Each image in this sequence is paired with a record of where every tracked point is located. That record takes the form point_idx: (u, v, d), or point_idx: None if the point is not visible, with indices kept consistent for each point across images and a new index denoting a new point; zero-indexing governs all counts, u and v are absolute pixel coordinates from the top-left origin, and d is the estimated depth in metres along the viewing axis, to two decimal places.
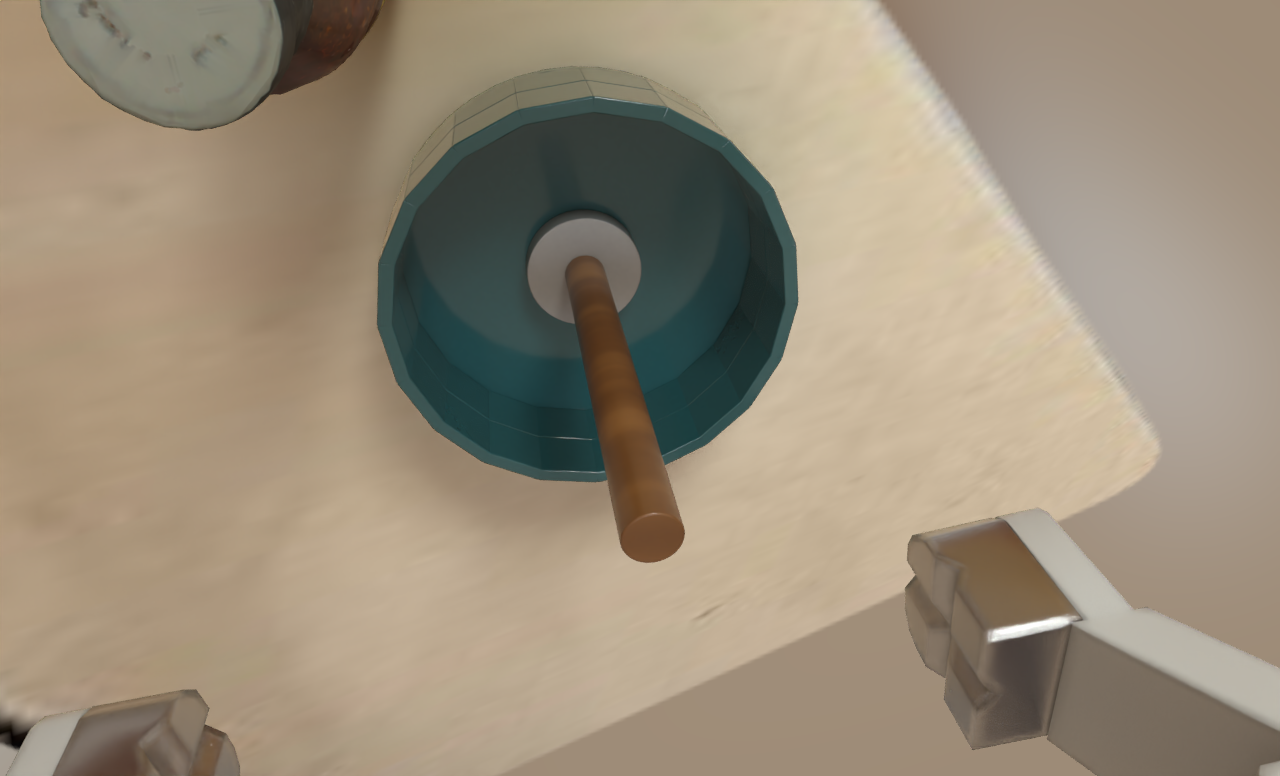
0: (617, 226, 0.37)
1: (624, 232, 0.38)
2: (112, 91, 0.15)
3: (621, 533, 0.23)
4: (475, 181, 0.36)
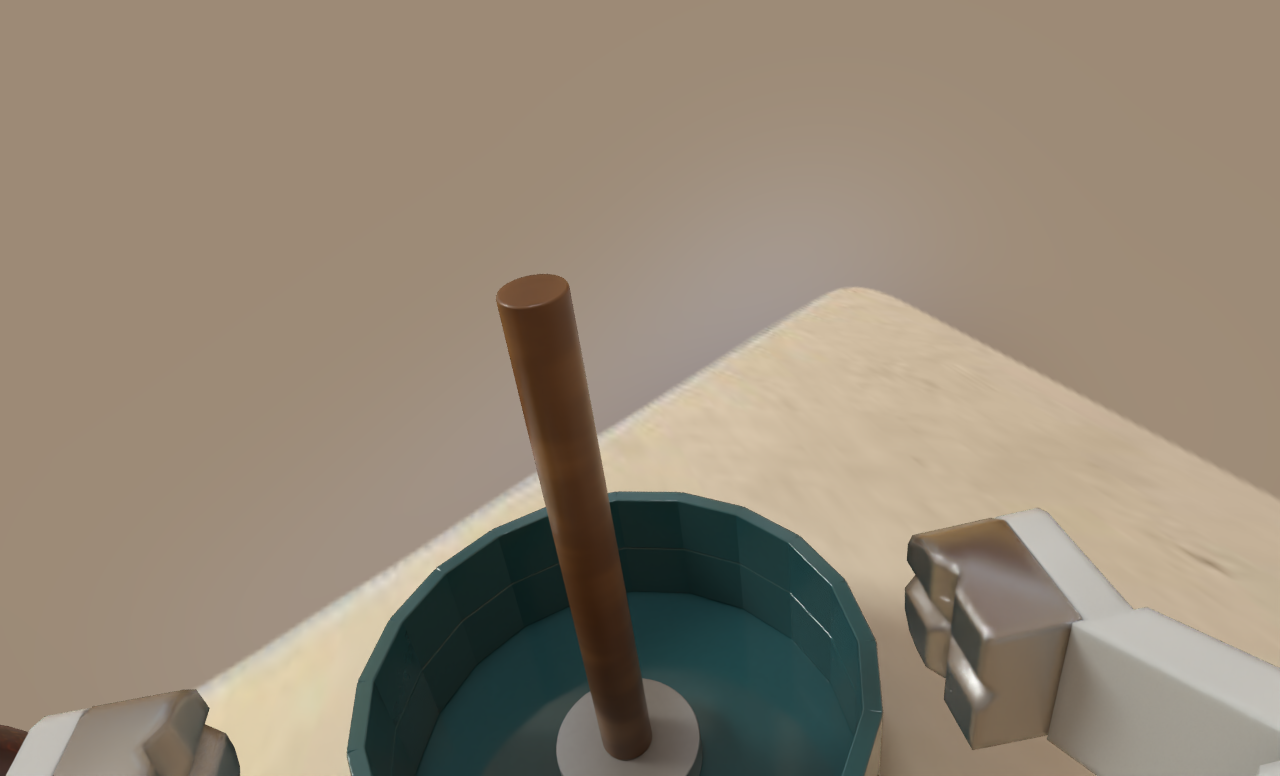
0: None
1: (580, 700, 0.32)
2: None
3: (519, 310, 0.20)
4: None
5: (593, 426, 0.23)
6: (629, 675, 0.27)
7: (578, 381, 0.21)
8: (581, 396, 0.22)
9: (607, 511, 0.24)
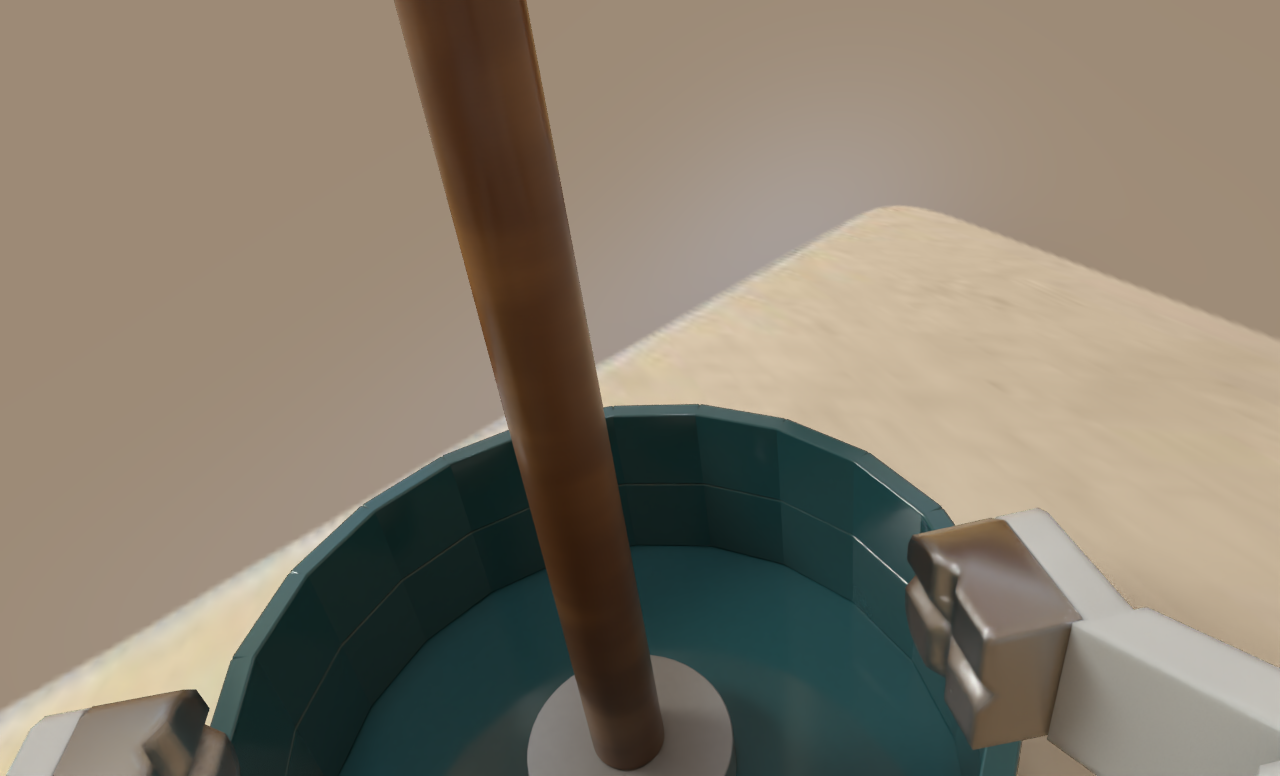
0: None
1: (562, 685, 0.23)
2: None
3: None
4: None
5: (563, 213, 0.13)
6: (630, 642, 0.18)
7: (533, 116, 0.12)
8: (539, 146, 0.13)
9: (590, 372, 0.15)
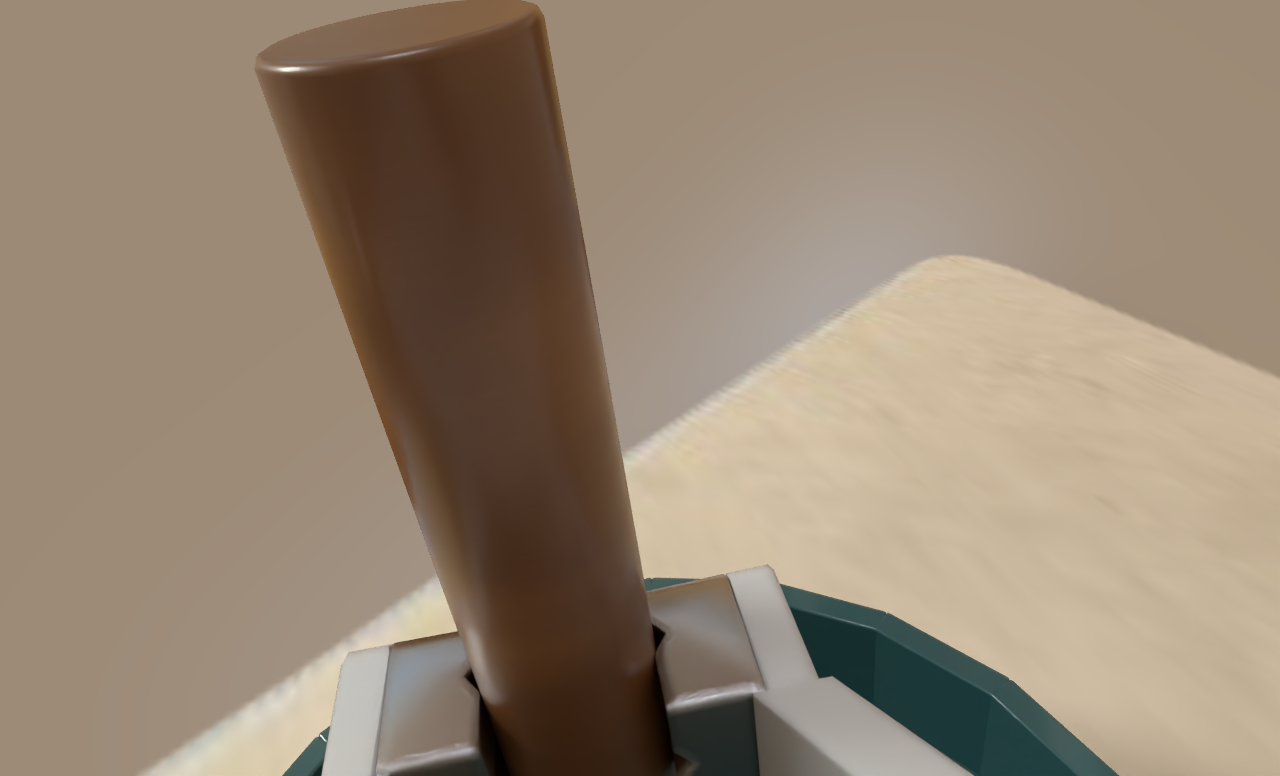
0: None
1: None
2: None
3: (324, 78, 0.05)
4: None
5: (629, 522, 0.07)
6: None
7: (582, 384, 0.06)
8: (591, 435, 0.06)
9: (664, 739, 0.09)
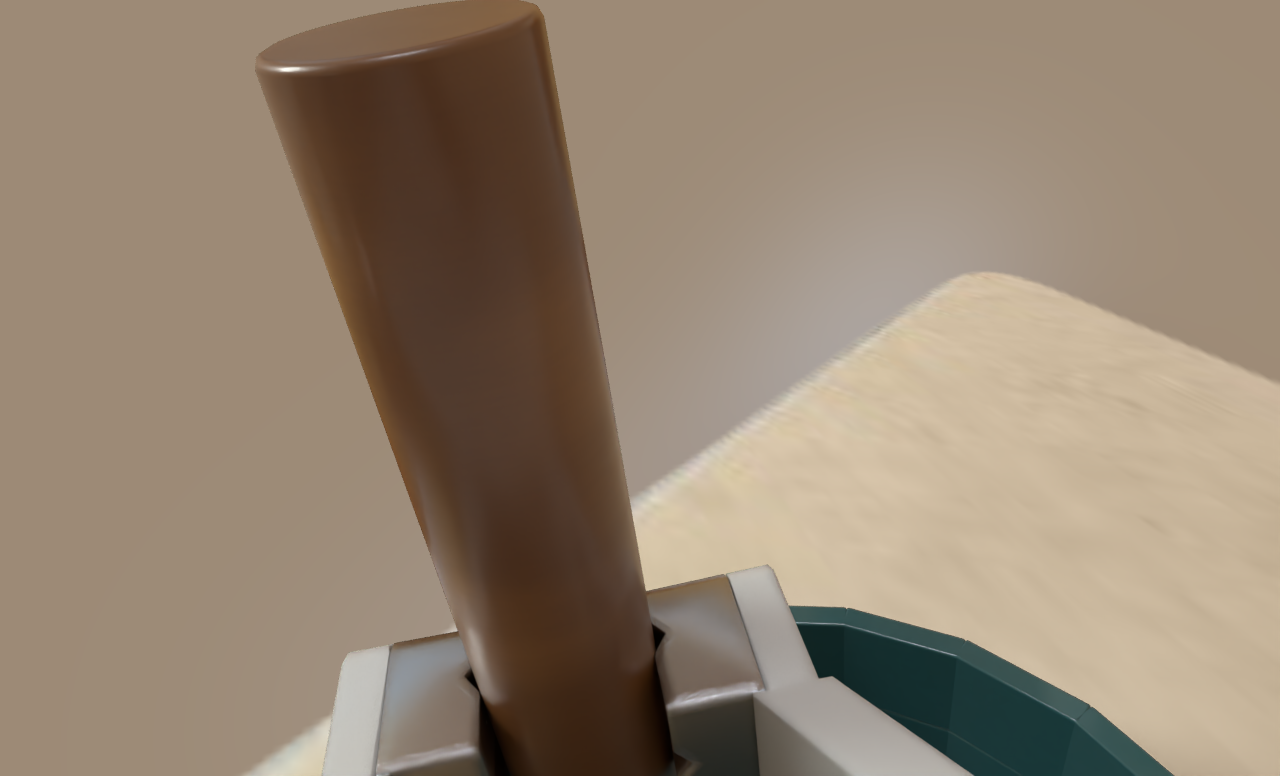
0: None
1: None
2: None
3: (324, 78, 0.05)
4: None
5: (629, 522, 0.07)
6: None
7: (582, 383, 0.06)
8: (589, 434, 0.06)
9: (664, 740, 0.09)
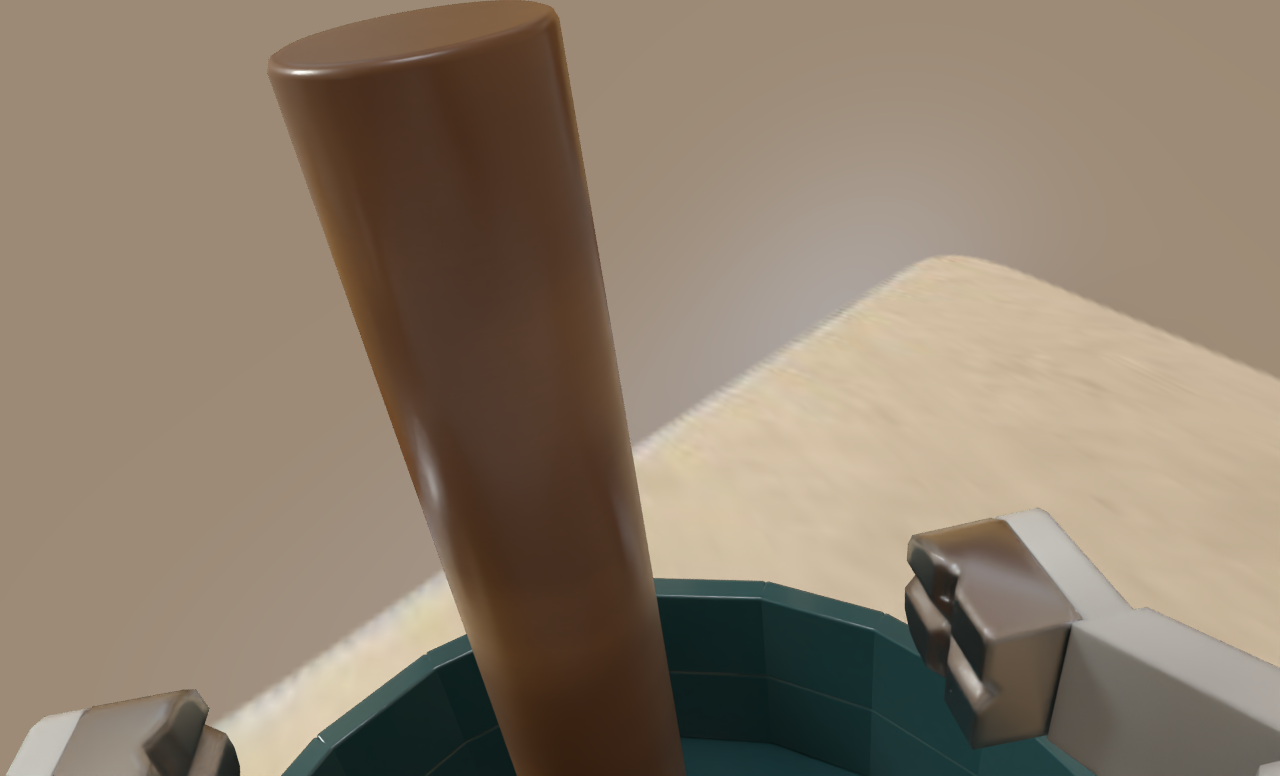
0: None
1: None
2: None
3: (338, 81, 0.05)
4: None
5: (640, 527, 0.07)
6: None
7: (595, 389, 0.06)
8: (604, 439, 0.06)
9: (673, 745, 0.09)
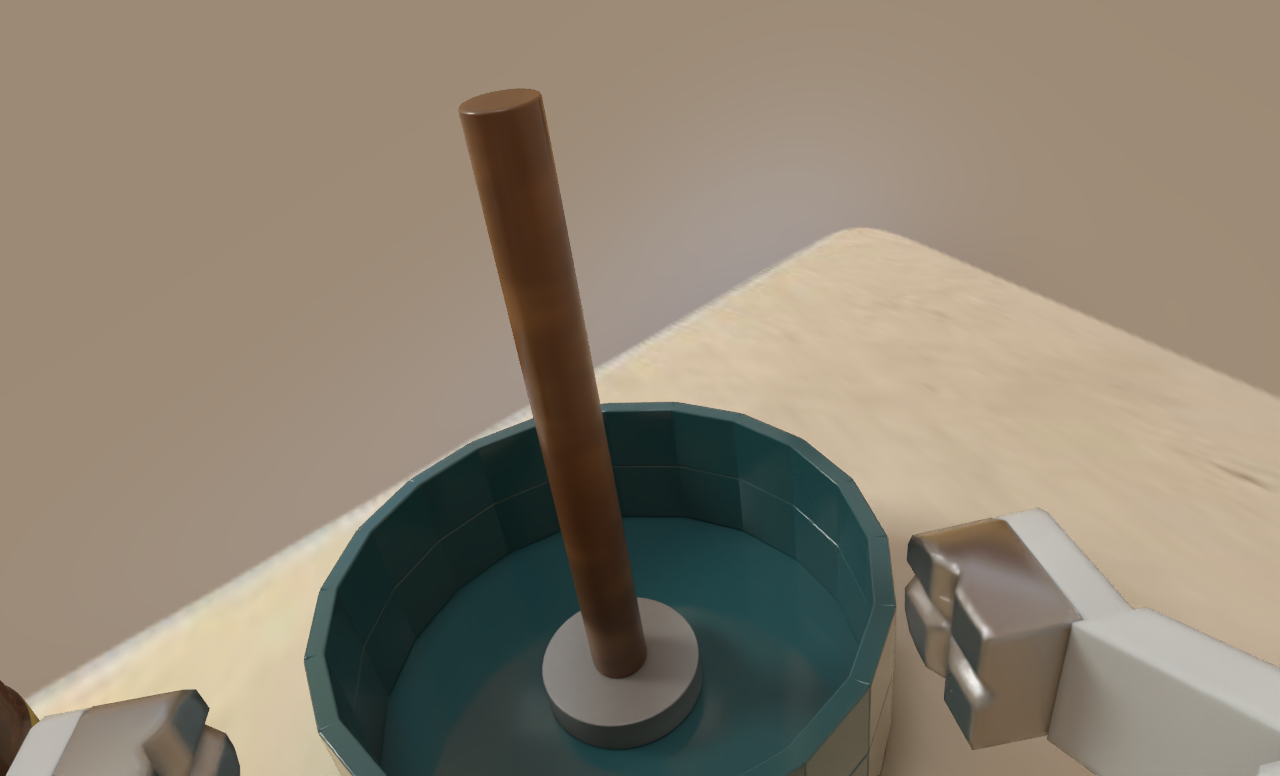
0: None
1: (569, 620, 0.29)
2: None
3: (483, 115, 0.17)
4: None
5: (573, 272, 0.20)
6: (619, 576, 0.25)
7: (554, 212, 0.19)
8: (557, 231, 0.19)
9: (591, 378, 0.22)
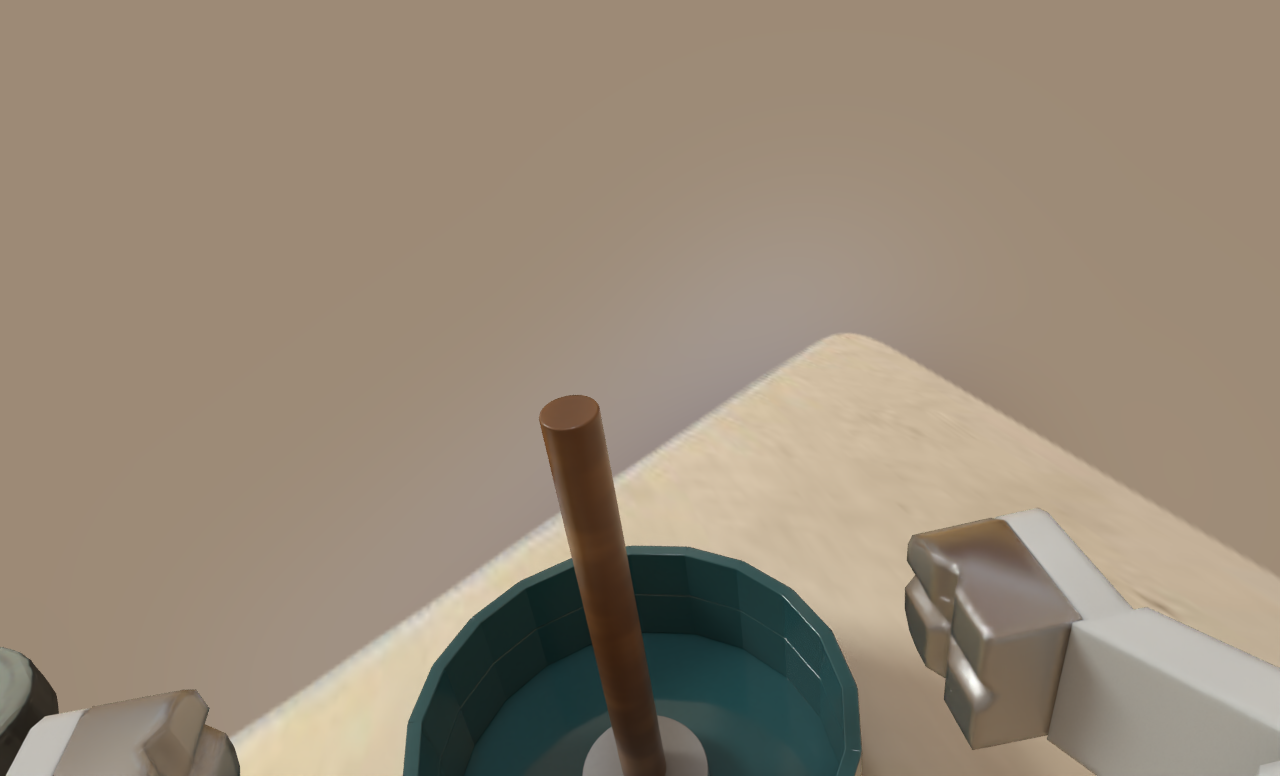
0: None
1: (602, 735, 0.36)
2: None
3: (559, 431, 0.24)
4: None
5: (618, 516, 0.27)
6: (647, 718, 0.32)
7: (606, 483, 0.26)
8: (608, 495, 0.26)
9: (629, 584, 0.28)
